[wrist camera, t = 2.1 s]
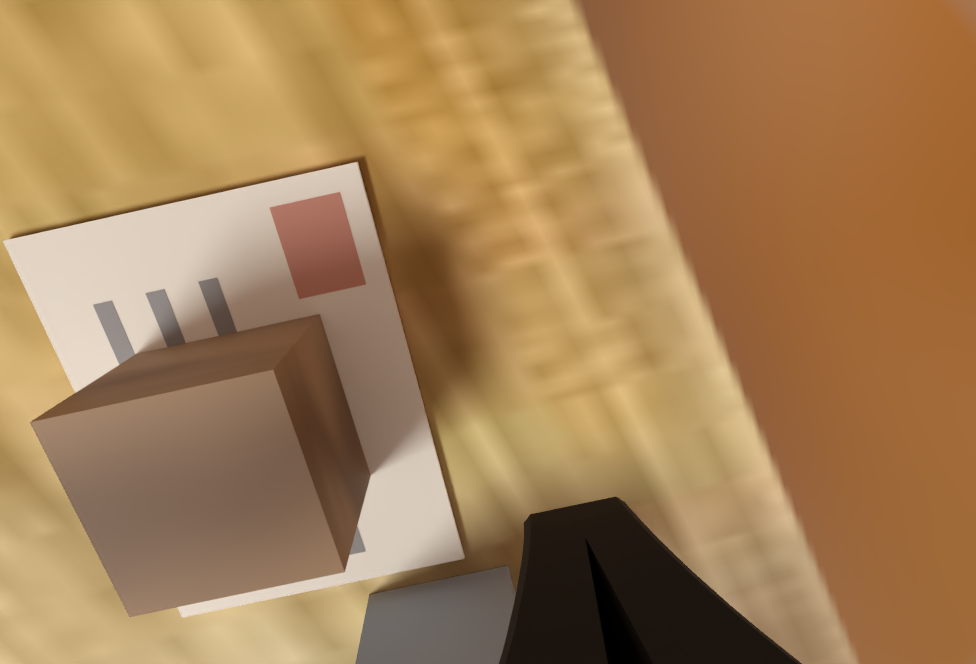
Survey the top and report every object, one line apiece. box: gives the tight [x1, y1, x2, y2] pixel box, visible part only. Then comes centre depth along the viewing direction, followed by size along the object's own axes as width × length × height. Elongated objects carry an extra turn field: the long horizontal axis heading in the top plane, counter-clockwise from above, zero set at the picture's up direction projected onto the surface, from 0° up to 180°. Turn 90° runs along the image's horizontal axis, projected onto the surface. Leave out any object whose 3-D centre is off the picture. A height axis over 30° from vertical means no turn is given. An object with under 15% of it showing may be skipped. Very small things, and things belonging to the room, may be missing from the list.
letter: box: [3, 162, 465, 617], centre depth 16 cm, size 12×9×1 cm
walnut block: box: [30, 314, 371, 617], centre depth 14 cm, size 5×5×4 cm
